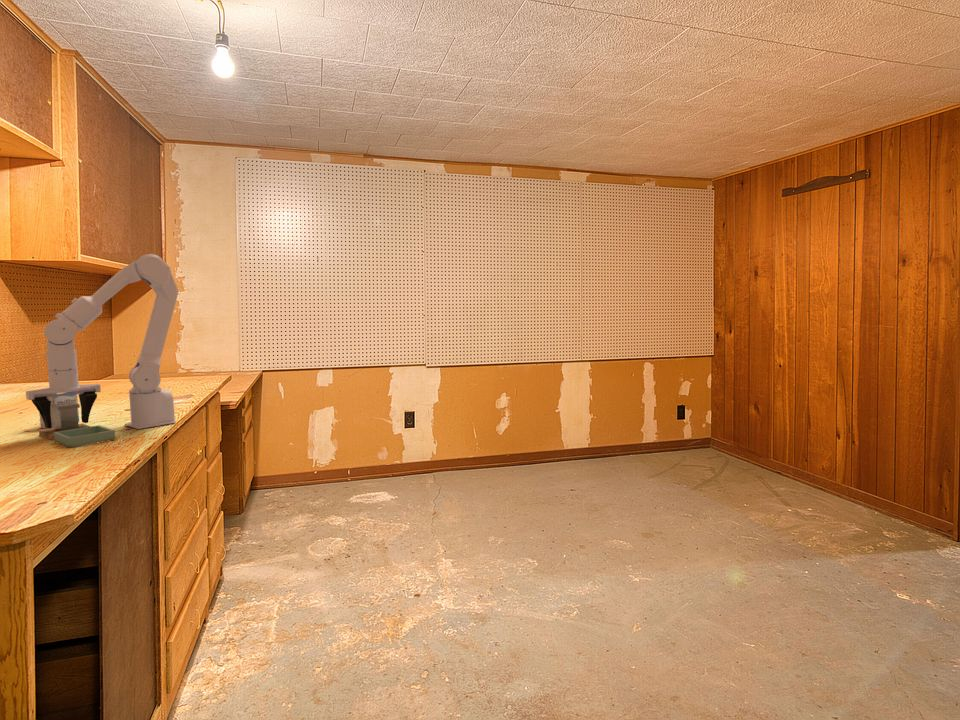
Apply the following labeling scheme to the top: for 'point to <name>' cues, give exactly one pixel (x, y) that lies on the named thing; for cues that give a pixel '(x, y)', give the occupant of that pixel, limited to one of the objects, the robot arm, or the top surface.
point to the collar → (50, 432)
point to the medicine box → (59, 401)
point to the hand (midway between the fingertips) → (67, 425)
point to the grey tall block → (66, 416)
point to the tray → (84, 436)
